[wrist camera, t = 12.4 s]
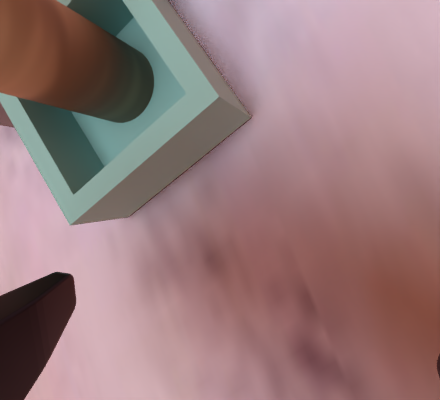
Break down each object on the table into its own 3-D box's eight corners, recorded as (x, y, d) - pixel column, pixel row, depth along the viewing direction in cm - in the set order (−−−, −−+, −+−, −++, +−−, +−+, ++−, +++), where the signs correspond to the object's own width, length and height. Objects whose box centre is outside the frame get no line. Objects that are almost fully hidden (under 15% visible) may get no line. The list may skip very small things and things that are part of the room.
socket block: (251, 117, 18) (219, 96, 14) (128, 217, 21) (70, 225, 17) (158, -13, 20) (104, -68, 15) (55, 96, 22) (-15, 75, 18)
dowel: (159, 113, 19) (-137, 6, 7) (97, 129, 20) (-232, 60, 9) (148, 37, 19) (-164, -184, 7) (86, 59, 20) (-252, -99, 9)
